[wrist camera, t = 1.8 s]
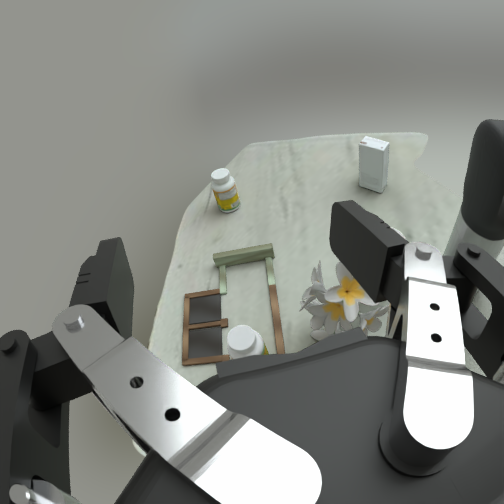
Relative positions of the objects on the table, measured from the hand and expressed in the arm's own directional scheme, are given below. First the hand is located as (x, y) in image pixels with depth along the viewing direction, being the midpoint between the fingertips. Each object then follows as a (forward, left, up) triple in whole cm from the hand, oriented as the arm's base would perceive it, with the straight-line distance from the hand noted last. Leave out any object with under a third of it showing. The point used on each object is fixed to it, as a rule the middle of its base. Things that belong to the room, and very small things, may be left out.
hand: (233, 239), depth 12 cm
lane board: (+22, -4, -41) cm, 47 cm away
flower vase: (+8, -21, -41) cm, 47 cm away
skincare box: (+25, -48, -41) cm, 68 cm away
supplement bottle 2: (+13, -2, -41) cm, 43 cm away
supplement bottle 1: (+46, -21, -41) cm, 65 cm away
